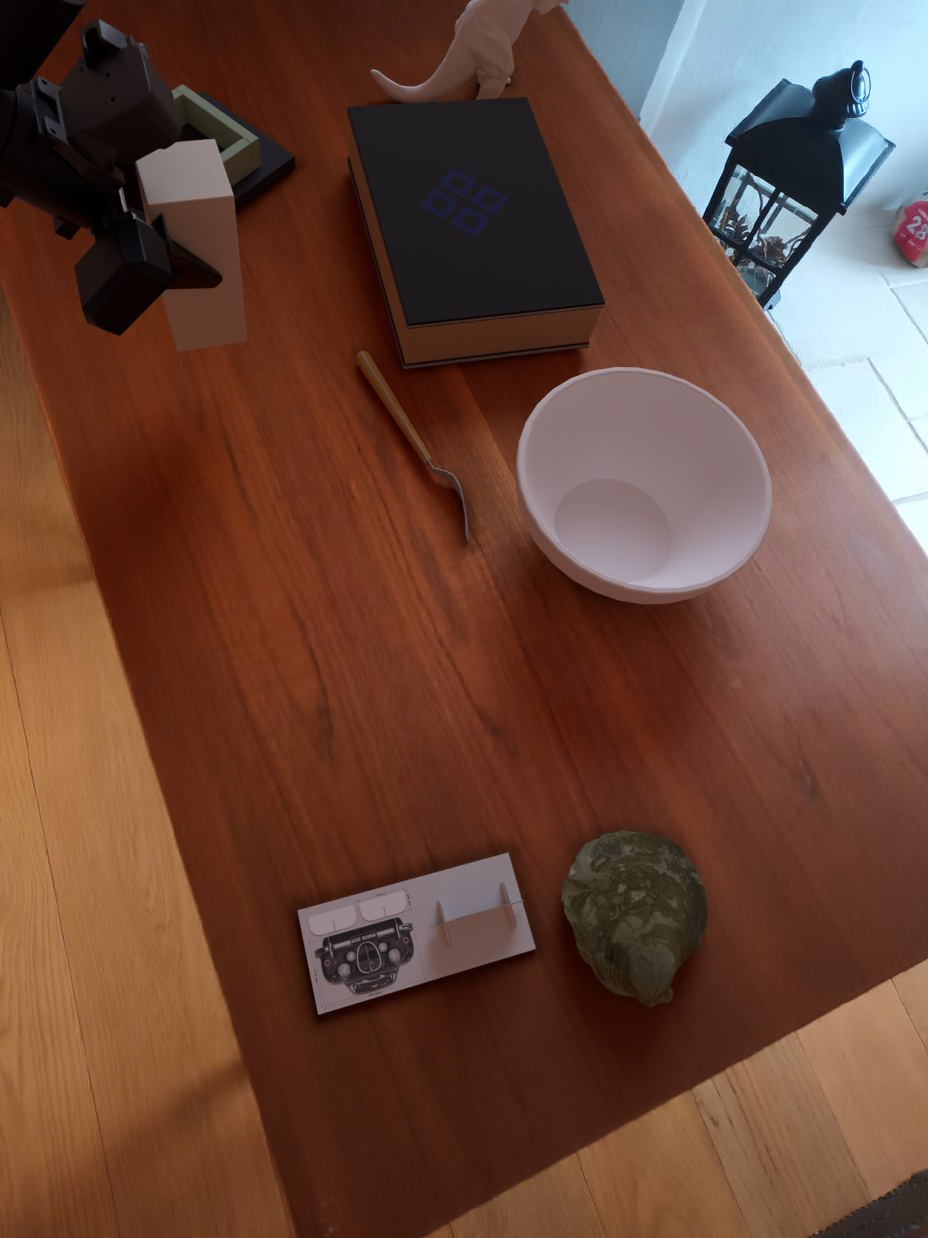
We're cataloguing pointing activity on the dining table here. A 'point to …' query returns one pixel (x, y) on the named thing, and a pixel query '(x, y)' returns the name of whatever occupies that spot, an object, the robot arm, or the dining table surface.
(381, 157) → the book
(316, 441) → the dining table surface
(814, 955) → the dining table surface
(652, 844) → the seashell
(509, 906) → the car cutout
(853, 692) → the dining table surface
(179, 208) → the white rectangular block
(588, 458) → the bowl
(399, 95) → the dinosaur figurine
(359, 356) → the fork
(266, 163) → the stepped rectangular base
